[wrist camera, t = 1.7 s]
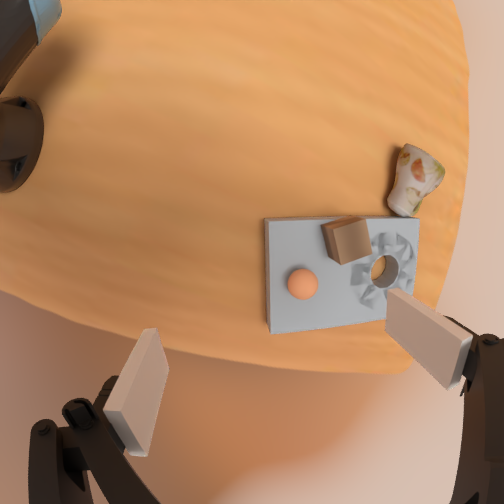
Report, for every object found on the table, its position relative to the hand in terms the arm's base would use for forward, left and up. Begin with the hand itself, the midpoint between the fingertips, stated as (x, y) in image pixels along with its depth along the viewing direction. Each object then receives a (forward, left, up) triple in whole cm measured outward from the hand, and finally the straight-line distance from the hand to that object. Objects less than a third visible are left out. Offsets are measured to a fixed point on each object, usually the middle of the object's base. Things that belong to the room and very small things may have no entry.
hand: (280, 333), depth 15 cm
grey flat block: (+13, -3, -21) cm, 25 cm away
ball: (+6, -3, -16) cm, 17 cm away
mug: (+23, +9, -22) cm, 32 cm away
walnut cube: (+11, +2, -18) cm, 21 cm away
